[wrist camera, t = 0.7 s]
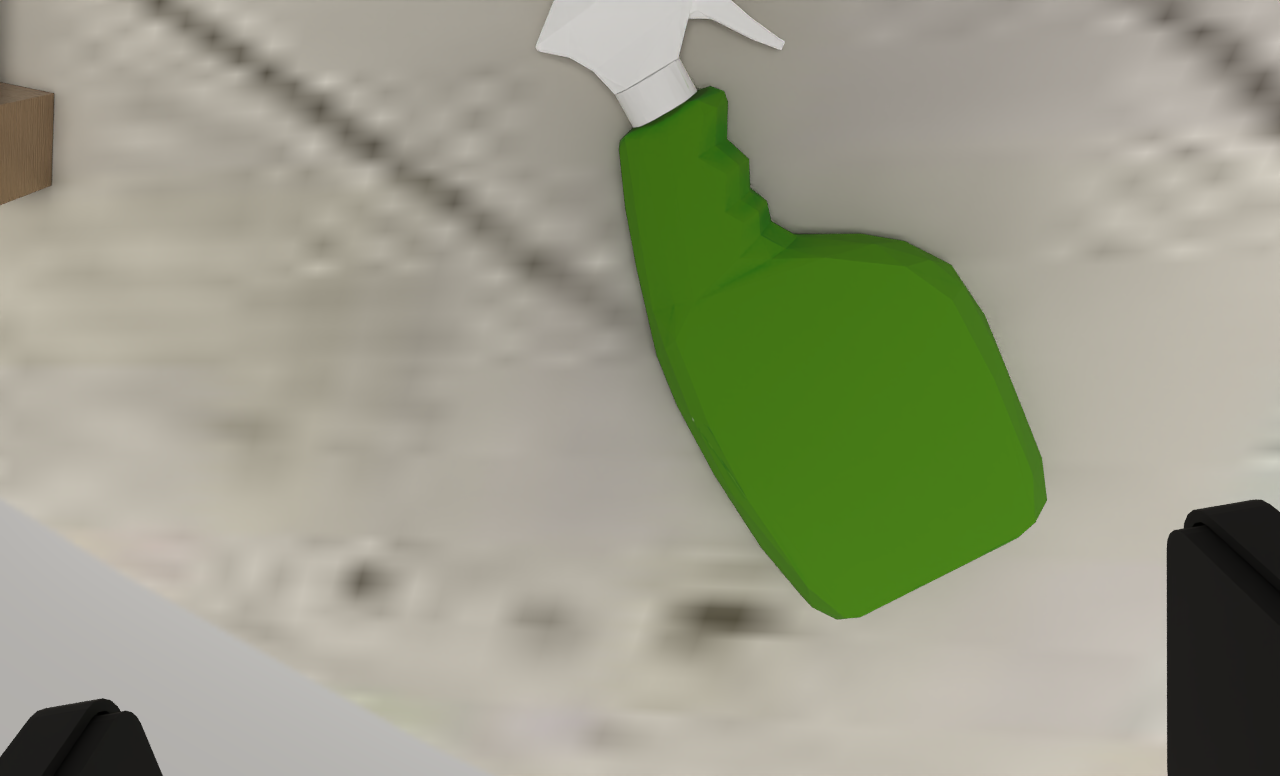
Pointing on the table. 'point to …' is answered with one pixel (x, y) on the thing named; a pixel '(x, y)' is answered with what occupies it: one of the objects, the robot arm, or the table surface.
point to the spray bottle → (805, 341)
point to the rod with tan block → (25, 141)
